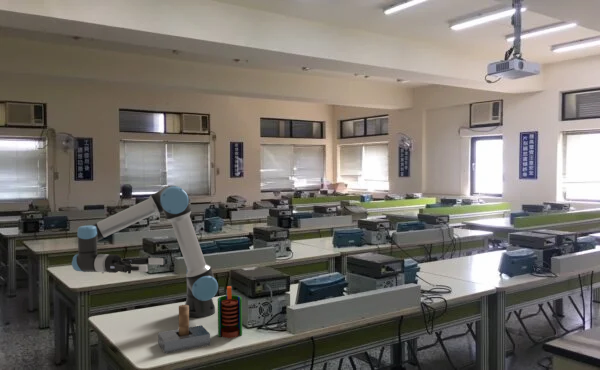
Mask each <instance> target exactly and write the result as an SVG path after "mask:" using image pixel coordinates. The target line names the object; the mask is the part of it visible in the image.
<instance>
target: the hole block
mask: <svg viewBox="0 0 600 370" xmlns="http://www.w3.org/2000/svg"><path fill="white" fill-rule="evenodd" d="M157 335H158V337H157V338H158V339H157V340H158V345H159V347H160V349H161V350H162V351H163V353H164V354H168V353H170V354H171V353H175V352H180V351H185V350H192V349H196V348H202V346H203V347H208V346H211V333H210V332H209V331H208V330H207V329H206V328H205V327H204V326H203V325H201V324H200V325H197V326H196V325H195V326H189V335H185V336H179V328H177V329H172V330H171V329H170V330H166V331H165V330H164V331H160V332H159V331H158V333H157ZM207 345H208V346H207Z"/></svg>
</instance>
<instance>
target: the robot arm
mask: <svg viewBox="0 0 600 370" xmlns="http://www.w3.org/2000/svg"><path fill="white" fill-rule="evenodd" d="M162 213H163V214H164V216H165V219H166V220H167V221H168V222H170V224H171V226H172V229H173V233H174V235H175V237H176V240H177V243H178V246H179V248H180V251H181V254H182V257H183V260H184V263H185V266H186V273H185V277H186V300H185V303H184V305H189V318H204V317H208V316H212V315H213V314H215V313H216V306H215V303H214V297H215V296H216V295H217V293H218V292H219V291H218V290H219V283H218V281H217V279H216V278H215V276H214V273H213V269H212V267H211V265H209V264H207V263H206V259H205V257H204V254H203V252H202V248H201V245H200V243H199V240H198V237H197V233H196V231H195V227H194V225H193V222H192V219H191V214H192V209H191V206H190V203H189V196H188V193H187V192H186V191H185V190H184V188H182V187H180V186H176V185H167V186H165V187H163V188H162V189H159V191H157V192H155V193H153V194H151V195H150V196H149V197H148V198H147V199H145V200H143V201H141V202H139V203H136V204H135V205H132V206H130V207H128V208H126V209H124V210H122V211H119V212H117V213H114V214H113V215H110V216H108V217H106V218H104V219H101V220H100V221H96V222H95V223H93V224H91V225H81V226H78V228H77V232H76V233H77V234H76V235H77V249H78V250H77V251H78V252H77V254H75V255H74V256H73V257H72V261H71V266H72V269H73V270H75V271H77V272H81V273H101V274H105V273H109V274H110V273H111V274H112V273H114V274H115V273H118V272H120V273H125V274H126V273H127V274H132V272H133V273H134V272H137V273H147V272H148V265H151V266H152V265H153V266H154V265H156V266H157V265H158V266H160V265H161V266H164V258H163V257H151V255H148V256H145V257H144V256H143V257H142V256H140V257H126V258H125V257H124V258H122V257H121V256H120V255H119V254H109V253H107V254H106V253H105V254H104V253H103V254H102V253H98V241H100V240H102V239H104V238H106V237H108V236H110V235H112V234H115V233H117V232H119V231H121V230H123V229H125V228H127V227H131V226H132V225H135V224H136V223H138V222H140V221H142V220H145V219H147V218H149V217H151V216H153V215H154V214H158V215H160V214H162Z"/></svg>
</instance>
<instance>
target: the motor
mask: <svg viewBox="0 0 600 370" xmlns="http://www.w3.org/2000/svg"><path fill="white" fill-rule="evenodd" d="M232 290H233V289H232V286H230V285H229V286H226V294H227V295H222V296H219V297H218V298H217V335H218V336H217V337H218V338H220V337H222V338H224V339H233V338H237V337H238V336H239V337H240V336H243V297H242V296H240V295H237V294H236V295H235V294H233V292H232Z"/></svg>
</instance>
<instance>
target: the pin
mask: <svg viewBox="0 0 600 370" xmlns="http://www.w3.org/2000/svg"><path fill="white" fill-rule="evenodd" d="M189 327H190V317H189V305H185V304H180V305H178V329H179V336H185V335H189Z"/></svg>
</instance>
